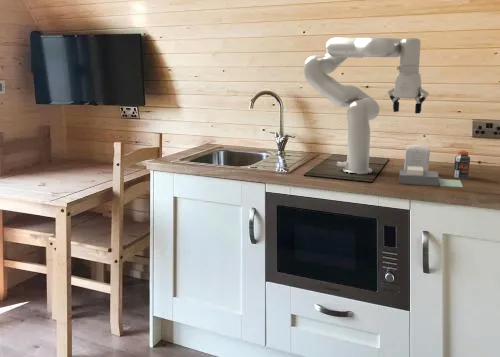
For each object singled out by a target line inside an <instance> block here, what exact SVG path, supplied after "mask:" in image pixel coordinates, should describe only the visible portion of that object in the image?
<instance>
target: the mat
mask: <svg viewBox="0 0 500 357" xmlns="http://www.w3.org/2000/svg"><path fill="white" fill-rule="evenodd" d="M438 186H439V187H445V188H446V187H448V188H449V187H450V188H464V186H463V183H462V182H461V179H445V178H444V179H443V178H439V185H438Z"/></svg>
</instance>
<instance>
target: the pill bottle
mask: <svg viewBox="0 0 500 357" xmlns="http://www.w3.org/2000/svg"><path fill="white" fill-rule="evenodd" d="M453 164H454V166H453V177H454V178H457V179H468V178H469V172H470V165H471V157H470V156H469V151H468V150H461V149H460V150H458V151H457V155H455V157H454V163H453Z"/></svg>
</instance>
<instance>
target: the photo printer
mask: <svg viewBox="0 0 500 357" xmlns="http://www.w3.org/2000/svg"><path fill="white" fill-rule="evenodd" d="M404 152H405V153H404V167H403V170H407V166H416V167H423V171H429V166H430V155H431V154H430V152H431V150H430V147H429V146H426V145H423V144H410V145H407V146H406V149H405V151H404Z"/></svg>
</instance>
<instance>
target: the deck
mask: <svg viewBox="0 0 500 357" xmlns="http://www.w3.org/2000/svg"><path fill="white" fill-rule="evenodd" d="M439 179H440V175H439V172H438V171H432V170H428V171H423V176H422V175H407V170H404V169H399V177H398V184H399V185H400V184H403V185H417V186H418V185H419V186H436V187H437V186H440V185H439Z"/></svg>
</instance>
